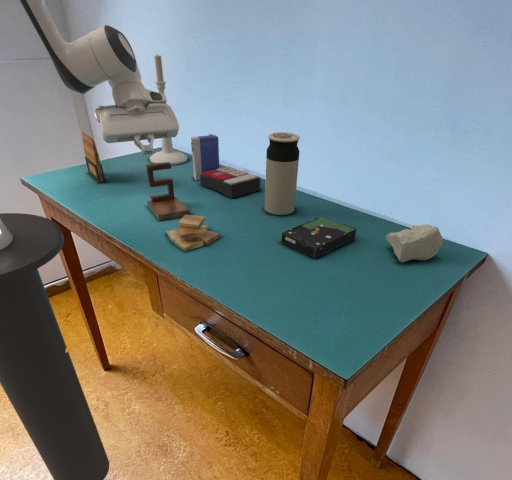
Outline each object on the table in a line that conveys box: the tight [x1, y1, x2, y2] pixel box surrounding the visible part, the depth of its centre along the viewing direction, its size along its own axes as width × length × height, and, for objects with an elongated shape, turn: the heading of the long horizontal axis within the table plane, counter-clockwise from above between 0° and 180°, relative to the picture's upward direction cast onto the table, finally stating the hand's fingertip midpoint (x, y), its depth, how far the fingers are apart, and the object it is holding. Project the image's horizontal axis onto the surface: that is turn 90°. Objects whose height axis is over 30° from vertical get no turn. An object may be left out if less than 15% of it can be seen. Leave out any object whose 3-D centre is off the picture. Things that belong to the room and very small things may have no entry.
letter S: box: [145, 162, 190, 222], centre depth 100 cm, size 8×10×10 cm
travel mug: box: [264, 131, 300, 216], centre depth 100 cm, size 8×8×18 cm
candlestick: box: [149, 53, 188, 166], centre depth 128 cm, size 13×13×30 cm
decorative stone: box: [385, 223, 444, 263], centre depth 85 cm, size 11×9×10 cm
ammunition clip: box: [81, 131, 106, 184], centre depth 118 cm, size 11×2×12 cm, turn 35°
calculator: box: [199, 166, 261, 199], centre depth 117 cm, size 11×4×15 cm
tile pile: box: [166, 214, 220, 252], centre depth 90 cm, size 10×11×4 cm
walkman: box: [190, 133, 220, 181], centre depth 120 cm, size 8×3×12 cm, turn 115°
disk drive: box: [280, 216, 357, 259], centre depth 91 cm, size 10×3×15 cm
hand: (148, 153), depth 105 cm, fingers closed
